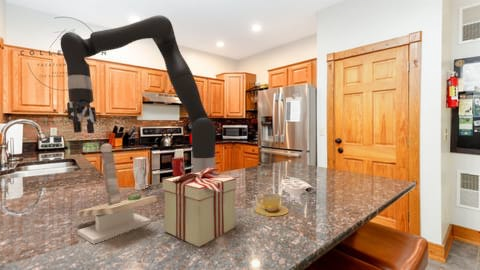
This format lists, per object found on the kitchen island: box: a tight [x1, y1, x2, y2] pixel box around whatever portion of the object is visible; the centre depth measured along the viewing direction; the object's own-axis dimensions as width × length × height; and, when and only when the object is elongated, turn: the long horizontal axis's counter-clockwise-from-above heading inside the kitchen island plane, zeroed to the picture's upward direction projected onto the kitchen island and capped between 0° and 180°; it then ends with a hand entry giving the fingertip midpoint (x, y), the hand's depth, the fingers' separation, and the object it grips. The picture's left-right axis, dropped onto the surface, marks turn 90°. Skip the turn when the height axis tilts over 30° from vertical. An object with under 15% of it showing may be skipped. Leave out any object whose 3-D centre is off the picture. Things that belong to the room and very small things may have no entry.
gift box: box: [162, 167, 239, 248], centre depth 66 cm, size 17×18×17 cm
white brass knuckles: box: [278, 178, 316, 196], centre depth 109 cm, size 3×18×15 cm
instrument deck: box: [74, 142, 158, 218], centre depth 69 cm, size 24×12×20 cm, turn 54°
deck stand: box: [77, 208, 151, 245], centre depth 68 cm, size 10×16×5 cm, turn 144°
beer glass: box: [132, 156, 150, 191], centre depth 113 cm, size 7×7×15 cm
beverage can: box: [171, 156, 186, 178], centre depth 114 cm, size 6×6×15 cm
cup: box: [254, 192, 289, 217], centre depth 82 cm, size 12×12×5 cm
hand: (84, 132), depth 86 cm, fingers open, 8 cm apart
